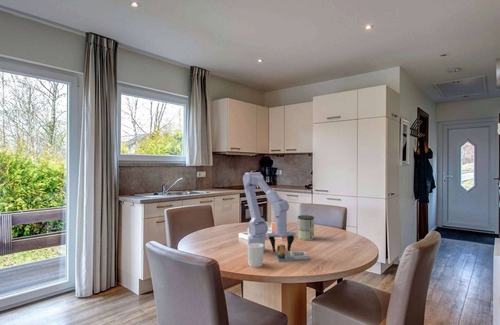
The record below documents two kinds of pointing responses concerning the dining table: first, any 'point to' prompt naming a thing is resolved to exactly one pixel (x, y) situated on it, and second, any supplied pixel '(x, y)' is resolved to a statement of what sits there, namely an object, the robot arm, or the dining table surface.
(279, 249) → the cell
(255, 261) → the white cup
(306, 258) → the gray board
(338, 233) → the dining table surface
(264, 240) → the robot arm
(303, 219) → the coffee can
